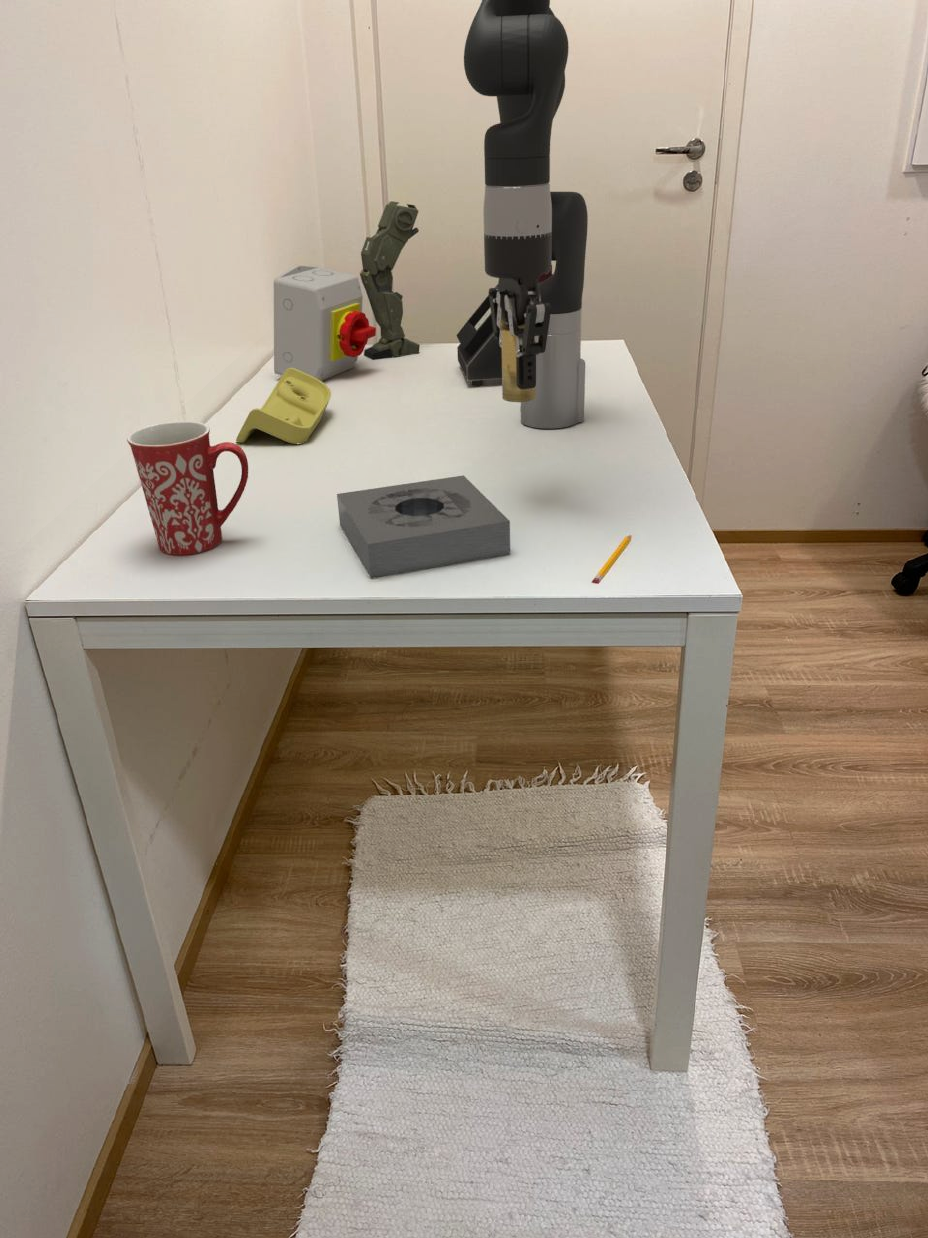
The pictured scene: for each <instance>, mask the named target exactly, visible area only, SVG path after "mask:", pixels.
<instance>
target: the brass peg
mask: <svg viewBox="0 0 928 1238" xmlns="http://www.w3.org/2000/svg"><path fill="white" fill-rule="evenodd" d="M518 327H519V328H524V326H518ZM501 341H502V379H501V385H502V386H501V387H502V389H501V392H502V394H501V395H502V400H504V401H506V402H508V403H509V402H510V403H521V402H527V401H531V400H534V399H535V398H536V386H535V387H534V388H530V389H520V388H518V387H517V382H516V357H517V355H516V347H515V338H514V337H512V336H511V335H510V329H509V327H508V328H503V329H502V330H501ZM522 341H523V336H522Z"/></svg>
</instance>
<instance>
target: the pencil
mask: <svg viewBox="0 0 928 1238" xmlns="http://www.w3.org/2000/svg"><path fill="white" fill-rule="evenodd" d="M631 540H632V534H629V535H627V536H625V537H624V538H623V540H622V541H621V542H620V544H619V545H618V546H617V547H616V549H615V550H614V552H613V553H612V554H611V555H610V557H609V558H608V559H607V561H606V562H605V563H604V564H603V566H602V567H601V569H600V570H599V571H598V572H597V574H596V575H595V576H594V577H593V579H592V581H591V583H592V584H599V583H600V582H601V581H602V580H603V578H604V577H605V576H606V574H607V573H608V572H609V570H610V569H611V567H612V566H613V565H614V564H615V562H616V561H617V560H618V558H619V557H620V556H621V554H622V553H623V551H624V550H625V548H626V547H627V546H628V544H629V543H630V542H631Z"/></svg>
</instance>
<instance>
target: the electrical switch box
mask: <svg viewBox="0 0 928 1238" xmlns="http://www.w3.org/2000/svg"><path fill="white" fill-rule="evenodd" d="M360 284H361V283H360V281H359V277H358V276H357V275H353V274H350V273H346V272H341V271H337V270H331V269H328V268H323V267H319V266H312V265H311V266H310V265H298V264H297V265H296V264H295V266H293V267H291V268H289V269H288V270H286V271H285V272H283V273H281V274H279V275H278V276H276V277H275V278H274V280H273V371H274V374H275V375H280V376H282V375H283V373H284V372H285V371H286V370H287V369H289V368H295V369H297V370H299V371H302V372H304V373H306V374H308V375H311V376H313V377H315V378H317V379H318V380H320V381H322V382H324V381H326V380H329V379H331V378H333V377H335V376H337V375H340V374H342V373H344V372H346V371H348V370H350V369H353V368H354V367H355V366H356V363H357V361H358V358H359V356H362V353H364V350H365V348H366V345H367V343H368V341H369V339H371V338H374V337H375V336H376V334H377V333H376V332H377V330H376V329H377V328H376V327H375V326H372V325H371V326H370V322H369V319H368V317H367V315H366V313H364V312H363V292H362V287H361V285H360Z"/></svg>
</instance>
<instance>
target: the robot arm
mask: <svg viewBox="0 0 928 1238" xmlns="http://www.w3.org/2000/svg"><path fill="white" fill-rule="evenodd" d="M568 58H569V38H568V34H567V31H566V28H565V27H564V24H563V23H562V21H561V20H560V19H559V18H558V17H557V16H556V15H555V13H554V11H553V10H552V9H551V0H481V3H480V5H479V7H478V9H477V11H476V13H475V15H474V18H473V20H472V22H471V24H470V27H469V29H468V33H467V36H466V40H465V43H464V50H463V67H464V74H465V76H466V80H467V81H468V84H470V86H471V88H472V89H473V90H474V91H475V92H476V93H478V94H479V95H481V96H484V97H496V100H497V101H496V102H497V108H498V115H499V121H500V122H498V123H495V124H493V125H492V126H489V127H488V128H487V129H486V131H485V134H484V141H483V150H484V184H485V187H484V198H483V199H484V200H483V209H482V210H483V241H484V242H483V243H484V244H483V245H484V246H483V248H484V250H483V251H484V271H485V274H486V275H487V276H489V277H491V278H497V279H498V283H497V285H498V287H496V286H495V287H496V288H495V287H490V288H489V289H488V294H487V295H489V300H490V308H491V316H492V323H493V331H494V337H495V339H496V340H497V339H499V345H500V347H501V348H502V341H501V330H502V329H503V328H508V327H509V329H510V335H511V336H512V337H514V338H515V347H516V355H517V357H516V382H517V387H518V388H520V389H530V388H534V387H535V386H536V398H535V399H534V400H531V401H527V402H520V408H519V409H520V422H521V423H522V424H523V425H524V426H527V427H529V428H530V427H532V428H534V429H536V428H537V429H547V430H548V429H562V428H568V427H571V426H574V425H576V424H578V423H583V422H584V421H585V397H586V396H585V393H586V392H585V389H586V385H585V384H586V361H585V360H584V359H583V358H581V349H582V348H581V345H582V344H581V343H582V342H581V341H582V308H583V306H582V305H583V304H582V303H583V293H584V292H583V291H584V285H585V284H584V283H585V269H586V268H585V266H586V265H585V264H586V263H585V262H586V253H587V252H586V251H587V241H588V238H587V237H588V223H589V222H588V221H589V220H588V218H589V217H588V216H589V215H588V207H587V203H586V200H585V198H584V197H583V195H582V194H581V193H580V192H576V191H551V184H550V182H551V180H550V179H551V177H550V176H551V172H550V171H551V168H550V167H551V138H552V137H551V136H552V127H553V122H554V118H555V116H556V114H557V112H558V109H559V107H560V105H561V103H562V100H563V96H564V92H565V88H566V73H565V72H566V66H567V63H568ZM552 261H553V262H555V267H554V272H553V273H552V274H553V275H552V276H551V277H549V278H548V279H546V280H545V281H542V282H540V283H538V278H539V277H540V276H541V275H546V274H548V273H549V272H550V271H551V265H552ZM505 318H506V320H505ZM518 326H524V328H519V327H518ZM522 336H523V341H522Z"/></svg>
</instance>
